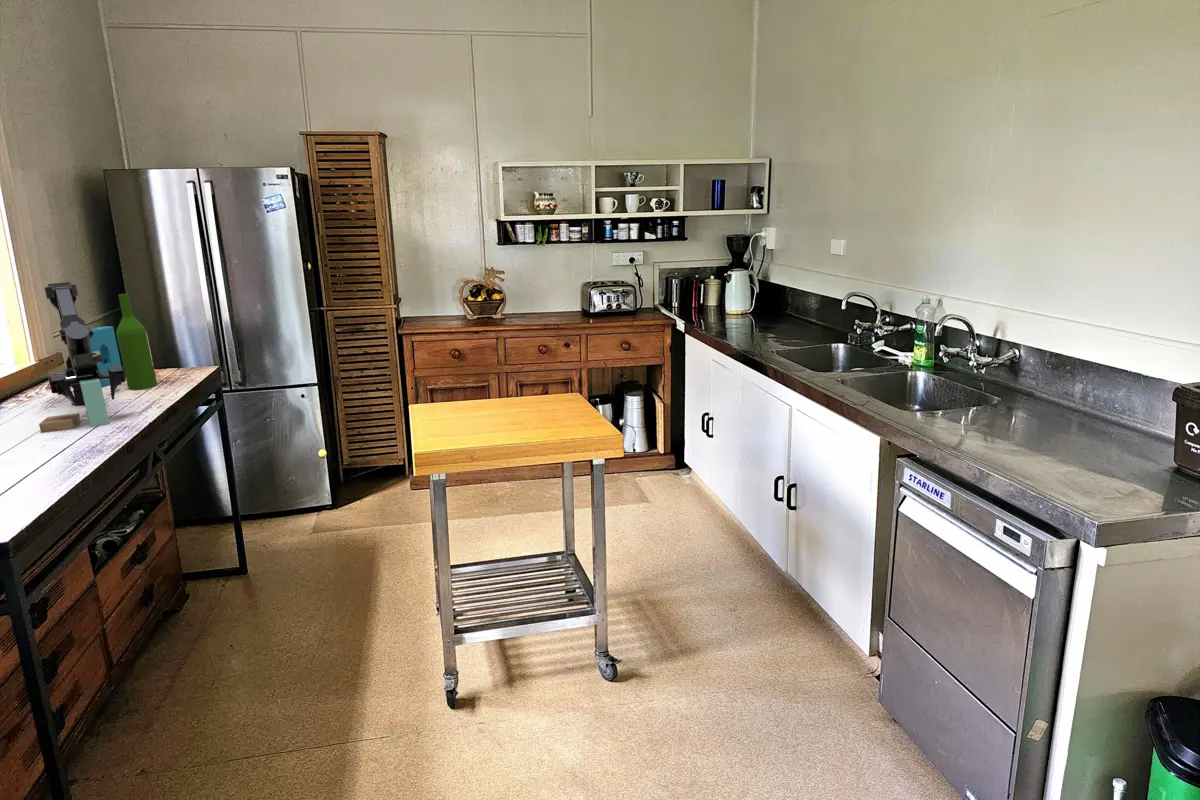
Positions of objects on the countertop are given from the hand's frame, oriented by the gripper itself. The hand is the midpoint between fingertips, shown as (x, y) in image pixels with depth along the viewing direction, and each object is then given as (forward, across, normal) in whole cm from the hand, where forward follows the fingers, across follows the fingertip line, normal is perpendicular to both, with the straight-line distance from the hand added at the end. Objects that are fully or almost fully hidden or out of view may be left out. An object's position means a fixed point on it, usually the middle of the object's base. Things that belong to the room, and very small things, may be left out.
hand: (94, 402), depth 223 cm
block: (-38, +8, +48) cm, 61 cm away
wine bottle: (-27, +18, +37) cm, 49 cm away
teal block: (+4, 0, +6) cm, 7 cm away
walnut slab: (+1, -9, +9) cm, 13 cm away
